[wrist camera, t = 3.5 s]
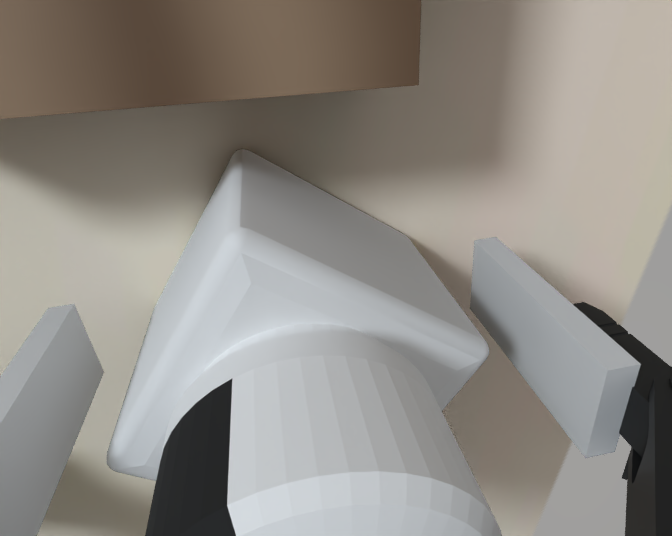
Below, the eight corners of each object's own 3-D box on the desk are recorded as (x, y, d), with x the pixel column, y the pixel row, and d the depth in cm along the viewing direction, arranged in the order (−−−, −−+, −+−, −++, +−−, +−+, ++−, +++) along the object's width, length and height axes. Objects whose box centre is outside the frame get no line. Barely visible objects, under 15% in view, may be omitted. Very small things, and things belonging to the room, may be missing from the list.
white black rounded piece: (315, 371, 20) (392, 761, 9) (151, 311, 17) (2, 761, 7) (410, 235, 18) (652, 551, 7) (238, 141, 15) (217, 426, 4)
